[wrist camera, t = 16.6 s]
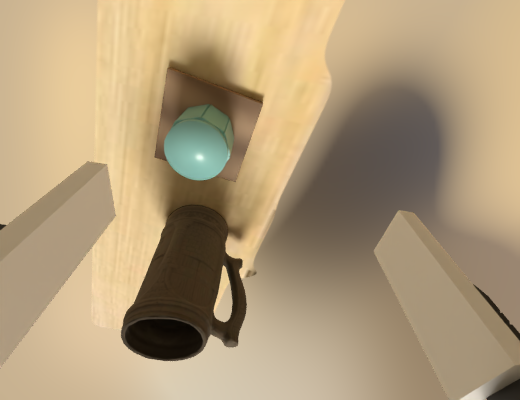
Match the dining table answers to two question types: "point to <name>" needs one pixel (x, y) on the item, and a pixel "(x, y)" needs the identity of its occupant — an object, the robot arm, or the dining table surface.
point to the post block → (229, 102)
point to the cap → (199, 142)
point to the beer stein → (185, 290)
